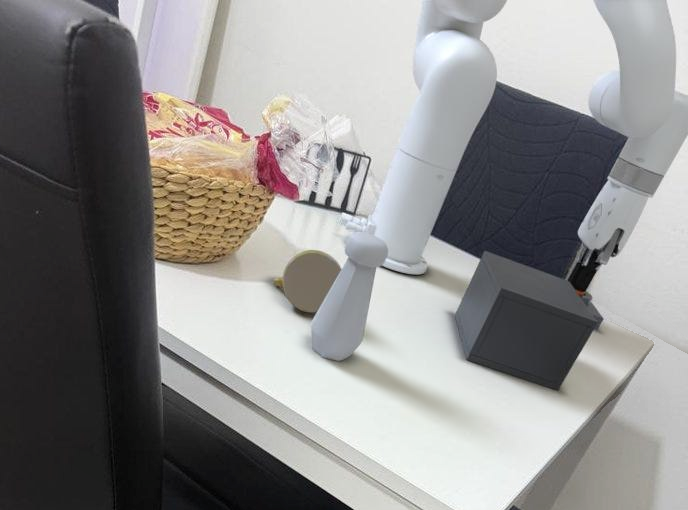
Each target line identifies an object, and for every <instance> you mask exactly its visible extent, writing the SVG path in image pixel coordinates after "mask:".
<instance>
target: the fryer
mask: <svg viewBox="0 0 688 510" xmlns="http://www.w3.org/2000/svg"><path fill="white" fill-rule="evenodd" d="M567 280H568V279H567ZM567 280H566V279H564V278H561V277H558V276H556V275H553V274H550V273H548V272H545V271H542V270H539V269H536V268H533V267H531V266H528V265H525V264H522V263H520V262H517V261H514V260H512V259H509V258H507V257H504V256H500V255H498V254H495V253H492V252H489V251H487V250H484V251H483V253H482V255H481V257H480V259H479V262H478V264H477V266H476V268H475V271H474V272H473V275H472V277H471V278H470V281H469V284H468V286H467V288H466V289H465V293H464V294H463V296H462V299H461V301H460V303H459V305H458V307H457V310H456V312H455V313H454V318H455V322H456V326H457V329H458V334H459V336H460V341H461V344H462V348H463V352H464V356H465V359H466V361H469V362H472V363H475V364H478V365H481V366H484V367H486V368H490V369H493V370H496V371H498V372H502V373H505V374H507V375H511V376H514V377H516V378H518V379H523V380H525V381H528V382H531V383H533V384H534V383H535V384H537V385H540V386H544V387H547V388H549V389H552V390H555V391H559V390H560V389H561V386H562V385H563V383H564V382H565V380H566V378H567V376H568V375H569V373H570V372H571V369H572V368H573V366H574V364H575V363H576V361H577V360H578V357H579V356H580V354H581V353H582V351H583V350H584V348H585V346H586V344H587V342H588V341H589V339H590V337H591V336H592V334H593V332H594V331H595V329H594V328H595V327H596V325H597V323H598V322H597V320H596V319H595V317H594V316H593V314H592V313H591V312H590V310H589V309H588V307H587V306H586V304H585V303H584V302H583V300H582V299H581V297H580V296H579V295H578V293H577V292H576V290H575V289H574V287H573V286H572V285H571V283H570V282H569V281H567Z"/></svg>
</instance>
